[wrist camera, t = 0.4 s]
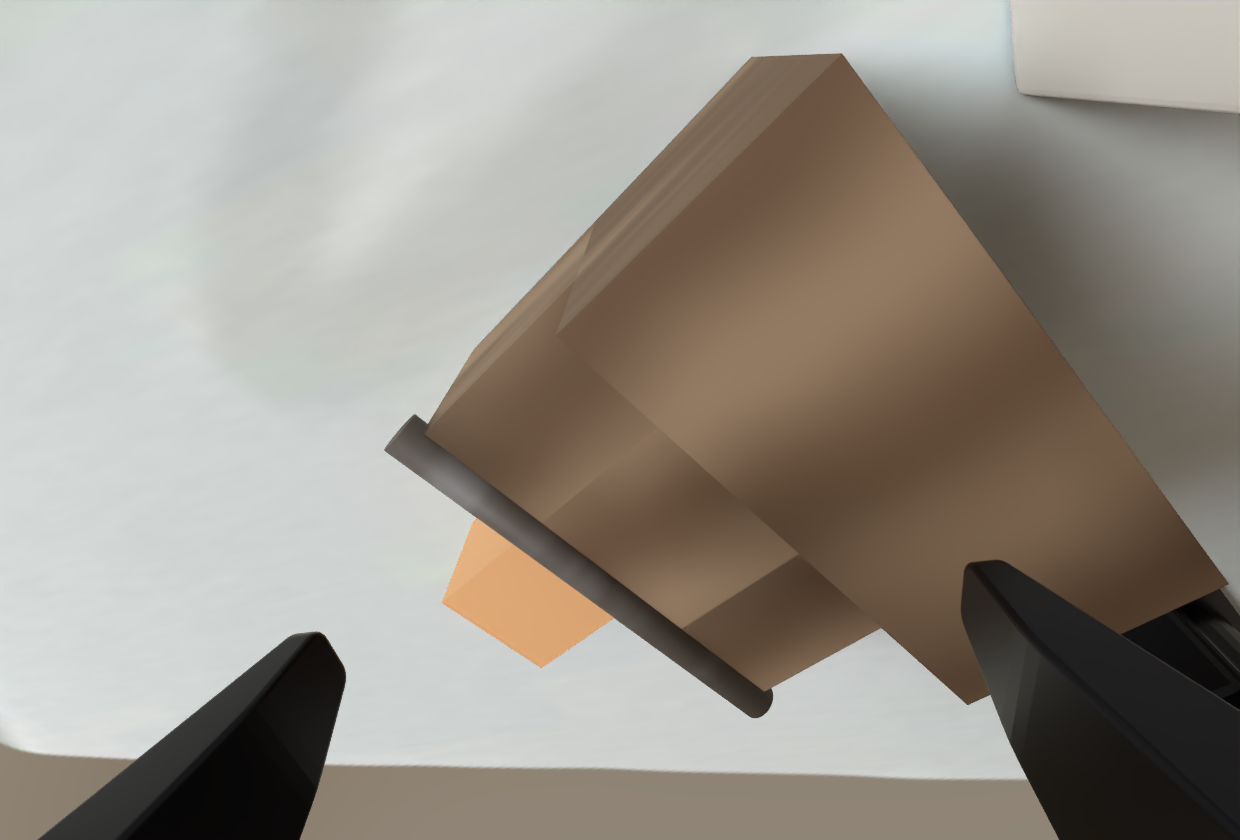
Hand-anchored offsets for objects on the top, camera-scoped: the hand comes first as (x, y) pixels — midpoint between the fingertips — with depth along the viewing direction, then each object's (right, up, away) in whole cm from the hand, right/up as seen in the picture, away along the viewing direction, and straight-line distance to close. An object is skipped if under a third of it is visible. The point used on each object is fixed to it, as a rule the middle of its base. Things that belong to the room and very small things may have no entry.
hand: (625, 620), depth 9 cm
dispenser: (+4, +5, +12) cm, 14 cm away
